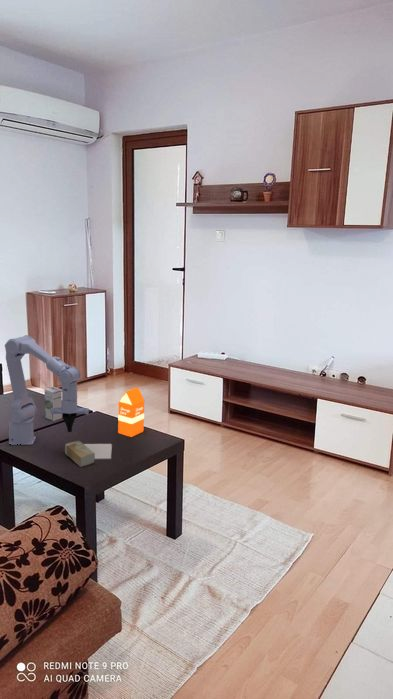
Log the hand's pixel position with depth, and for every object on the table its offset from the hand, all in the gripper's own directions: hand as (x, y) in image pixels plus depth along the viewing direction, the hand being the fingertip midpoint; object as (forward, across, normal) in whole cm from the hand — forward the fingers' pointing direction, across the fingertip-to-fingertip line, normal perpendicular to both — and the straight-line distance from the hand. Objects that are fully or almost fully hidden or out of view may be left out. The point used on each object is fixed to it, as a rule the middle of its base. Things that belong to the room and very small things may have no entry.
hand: (69, 431), depth 201 cm
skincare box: (+6, -1, +2) cm, 6 cm away
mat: (+9, -9, 0) cm, 13 cm away
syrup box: (+9, +12, -38) cm, 41 cm away
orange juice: (+9, -24, -21) cm, 33 cm away
